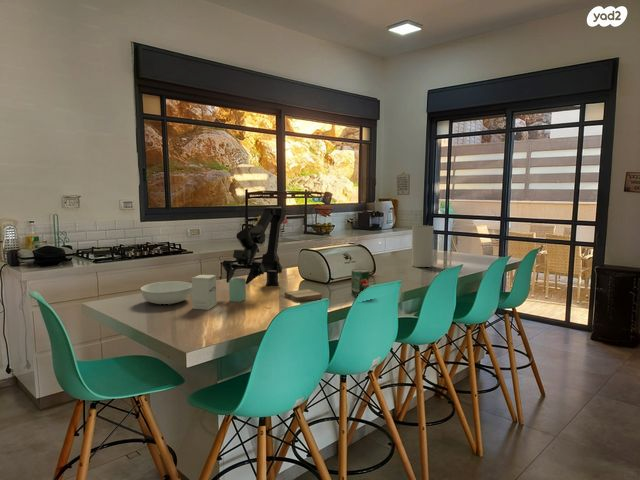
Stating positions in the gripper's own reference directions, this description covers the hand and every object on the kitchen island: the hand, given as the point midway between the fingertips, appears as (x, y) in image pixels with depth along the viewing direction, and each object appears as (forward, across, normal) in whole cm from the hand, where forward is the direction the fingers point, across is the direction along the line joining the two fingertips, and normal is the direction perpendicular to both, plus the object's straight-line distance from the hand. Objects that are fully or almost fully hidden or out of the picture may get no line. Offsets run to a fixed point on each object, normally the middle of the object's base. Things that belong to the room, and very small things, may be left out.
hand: (236, 283), depth 190 cm
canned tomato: (-15, +47, +25) cm, 55 cm away
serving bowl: (+14, -26, -3) cm, 30 cm away
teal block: (+5, 0, +6) cm, 8 cm away
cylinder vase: (-76, +64, +86) cm, 132 cm away
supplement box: (+16, -6, -5) cm, 18 cm away
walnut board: (-4, +25, +15) cm, 29 cm away
